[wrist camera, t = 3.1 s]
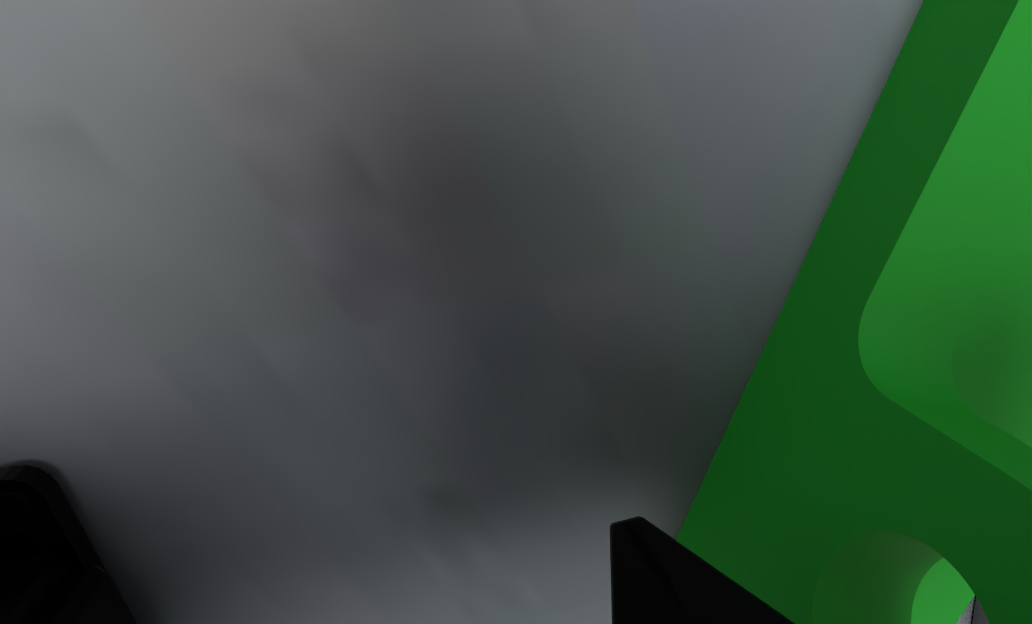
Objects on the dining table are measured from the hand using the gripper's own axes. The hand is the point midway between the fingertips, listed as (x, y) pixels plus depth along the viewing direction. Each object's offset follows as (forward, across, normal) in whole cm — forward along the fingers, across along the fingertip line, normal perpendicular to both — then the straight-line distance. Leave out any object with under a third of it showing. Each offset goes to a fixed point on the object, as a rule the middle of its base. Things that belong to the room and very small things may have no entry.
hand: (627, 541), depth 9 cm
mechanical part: (+3, -7, 0) cm, 8 cm away
